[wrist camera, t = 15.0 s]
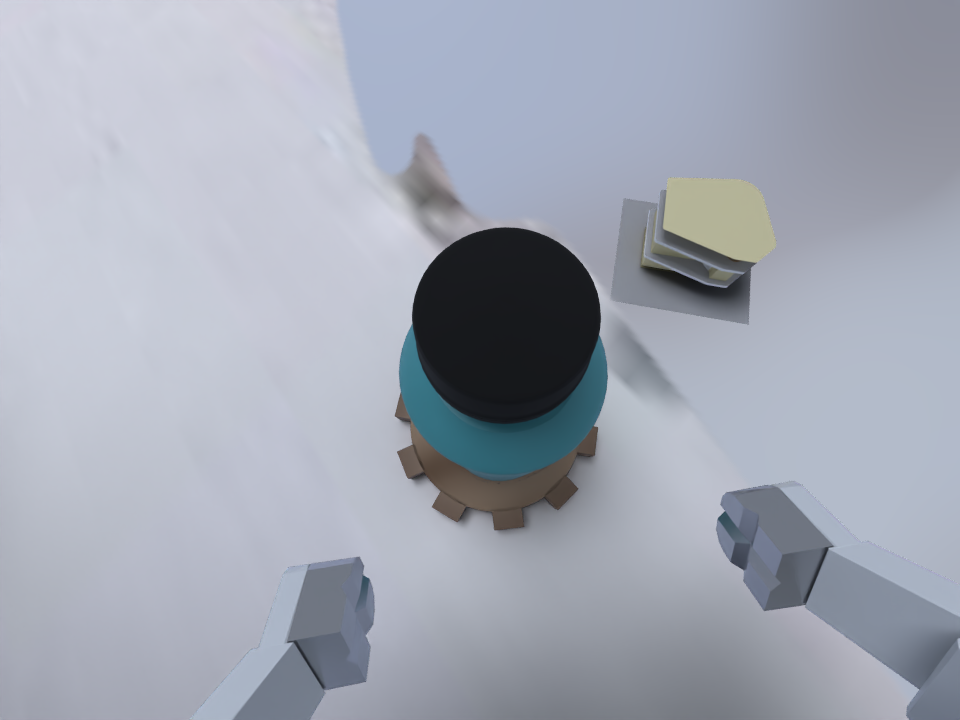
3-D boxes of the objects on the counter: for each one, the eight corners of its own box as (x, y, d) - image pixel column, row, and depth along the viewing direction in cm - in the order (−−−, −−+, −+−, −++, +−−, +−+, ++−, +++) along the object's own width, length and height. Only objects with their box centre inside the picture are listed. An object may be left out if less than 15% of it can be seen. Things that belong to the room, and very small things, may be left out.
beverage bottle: (510, 505, 26) (560, 565, 7) (425, 440, 28) (272, 340, 8) (569, 420, 28) (745, 274, 8) (485, 361, 29) (473, 117, 10)
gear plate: (361, 419, 30) (355, 416, 28) (498, 300, 32) (498, 291, 30) (491, 572, 27) (491, 577, 25) (631, 429, 29) (639, 427, 27)
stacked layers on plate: (609, 300, 32) (633, 264, 27) (623, 198, 34) (647, 146, 29) (748, 325, 31) (801, 292, 26) (752, 218, 33) (802, 169, 28)
